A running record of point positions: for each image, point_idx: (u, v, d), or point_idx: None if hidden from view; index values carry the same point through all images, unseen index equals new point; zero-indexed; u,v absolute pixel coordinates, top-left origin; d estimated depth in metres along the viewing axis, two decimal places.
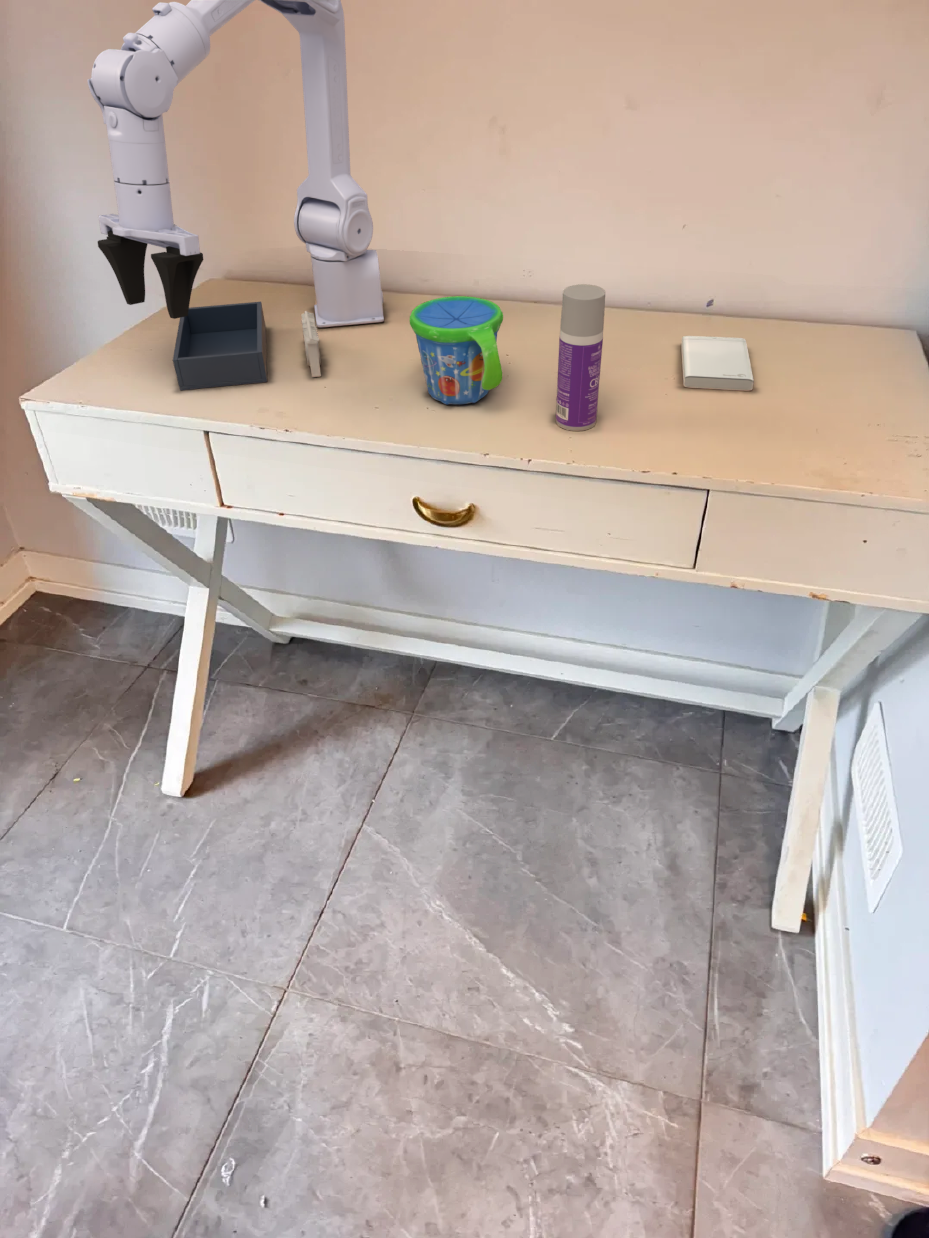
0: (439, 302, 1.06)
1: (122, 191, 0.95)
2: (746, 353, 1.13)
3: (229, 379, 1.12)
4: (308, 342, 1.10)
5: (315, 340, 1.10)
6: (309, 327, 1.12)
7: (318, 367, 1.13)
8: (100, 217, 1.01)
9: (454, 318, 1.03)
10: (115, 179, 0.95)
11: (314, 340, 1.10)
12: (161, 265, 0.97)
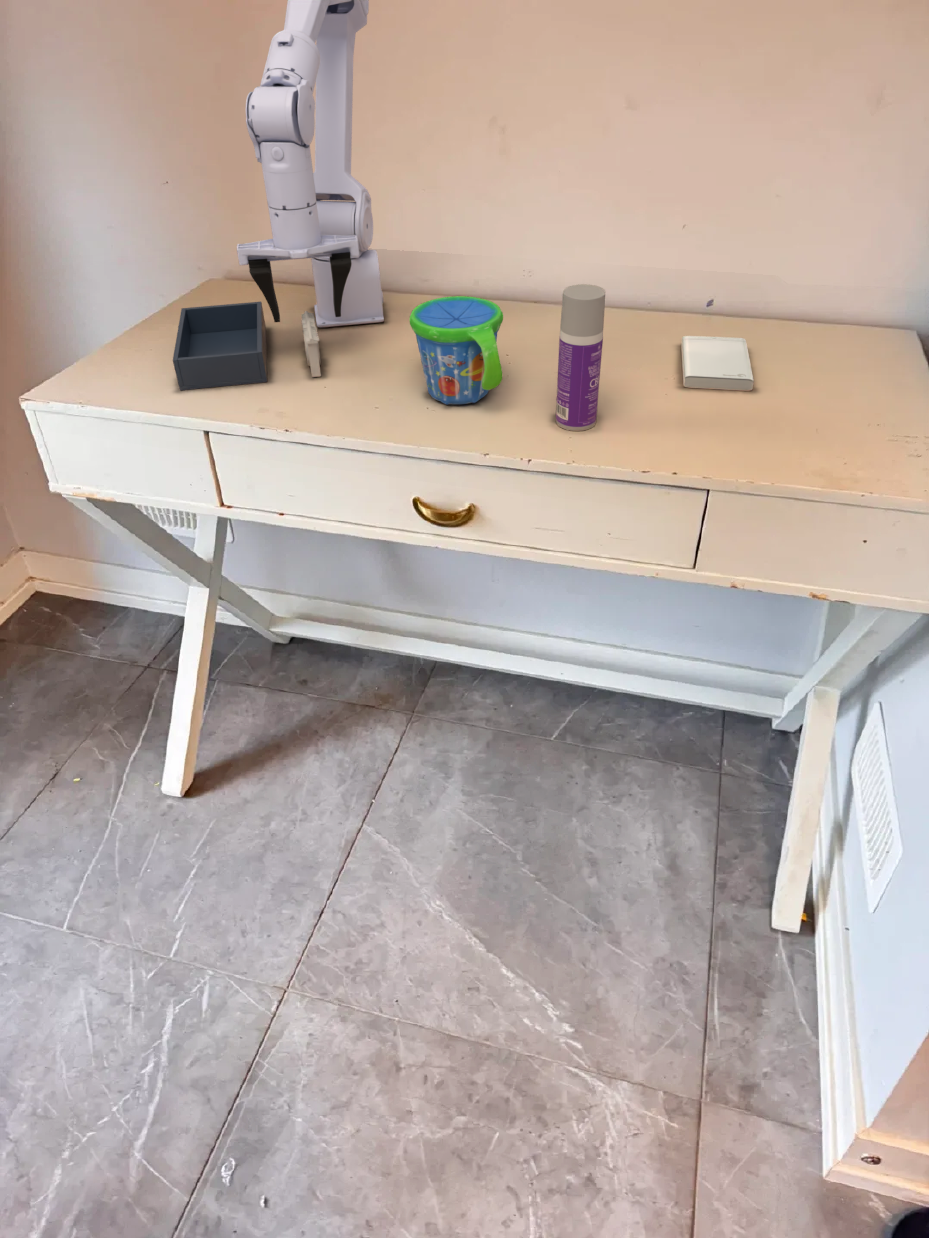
0: (439, 302, 1.06)
1: (295, 217, 1.04)
2: (746, 353, 1.13)
3: (229, 379, 1.12)
4: (308, 342, 1.10)
5: (315, 340, 1.10)
6: (309, 327, 1.12)
7: (318, 367, 1.13)
8: (240, 250, 1.07)
9: (454, 318, 1.03)
10: (278, 207, 1.03)
11: (314, 340, 1.10)
12: (342, 271, 1.09)
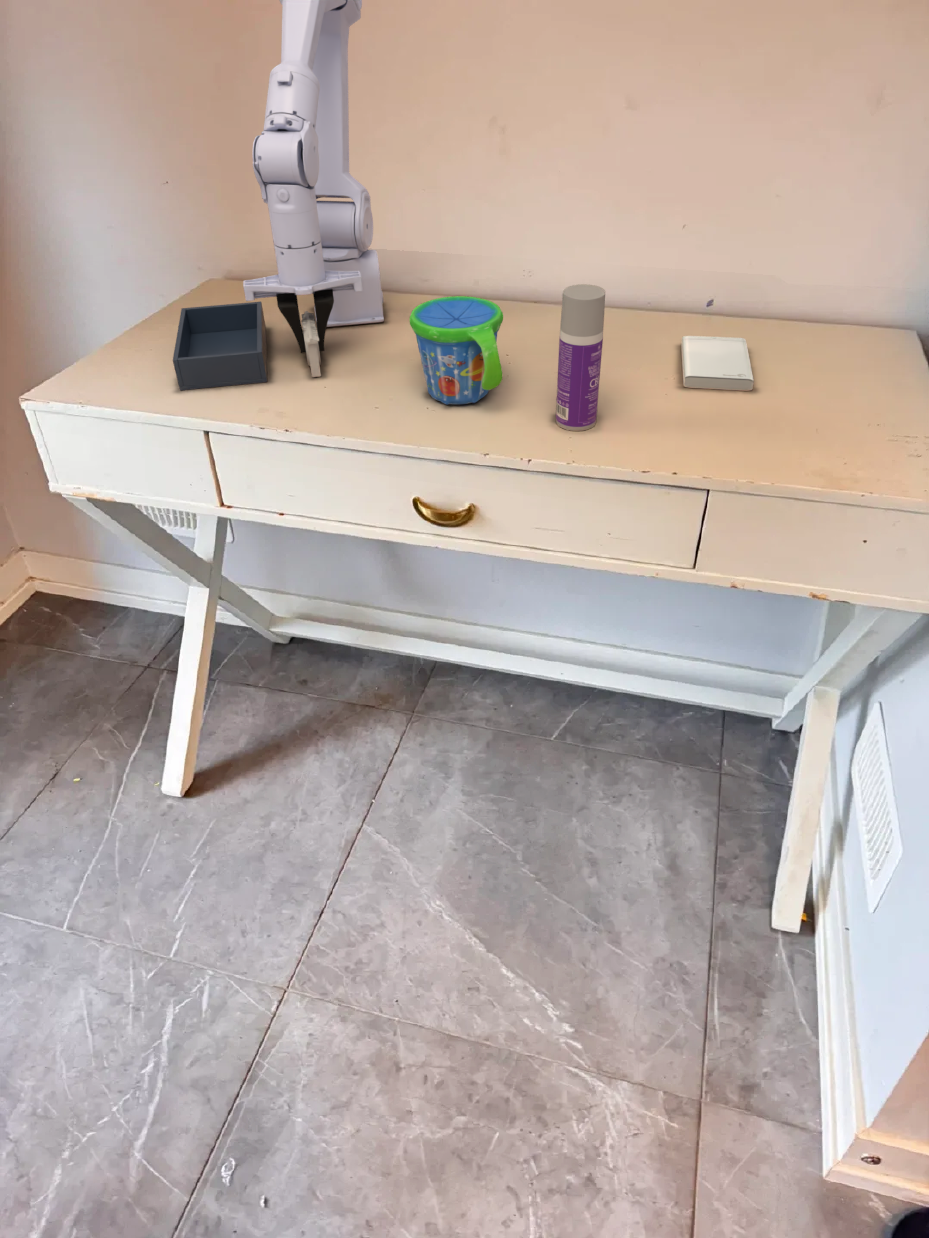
0: (439, 302, 1.06)
1: (301, 255, 1.06)
2: (746, 353, 1.13)
3: (229, 379, 1.12)
4: (308, 342, 1.10)
5: (315, 340, 1.10)
6: (309, 327, 1.12)
7: (318, 367, 1.13)
8: (246, 286, 1.09)
9: (454, 318, 1.03)
10: (284, 246, 1.06)
11: (314, 340, 1.10)
12: (324, 308, 1.11)
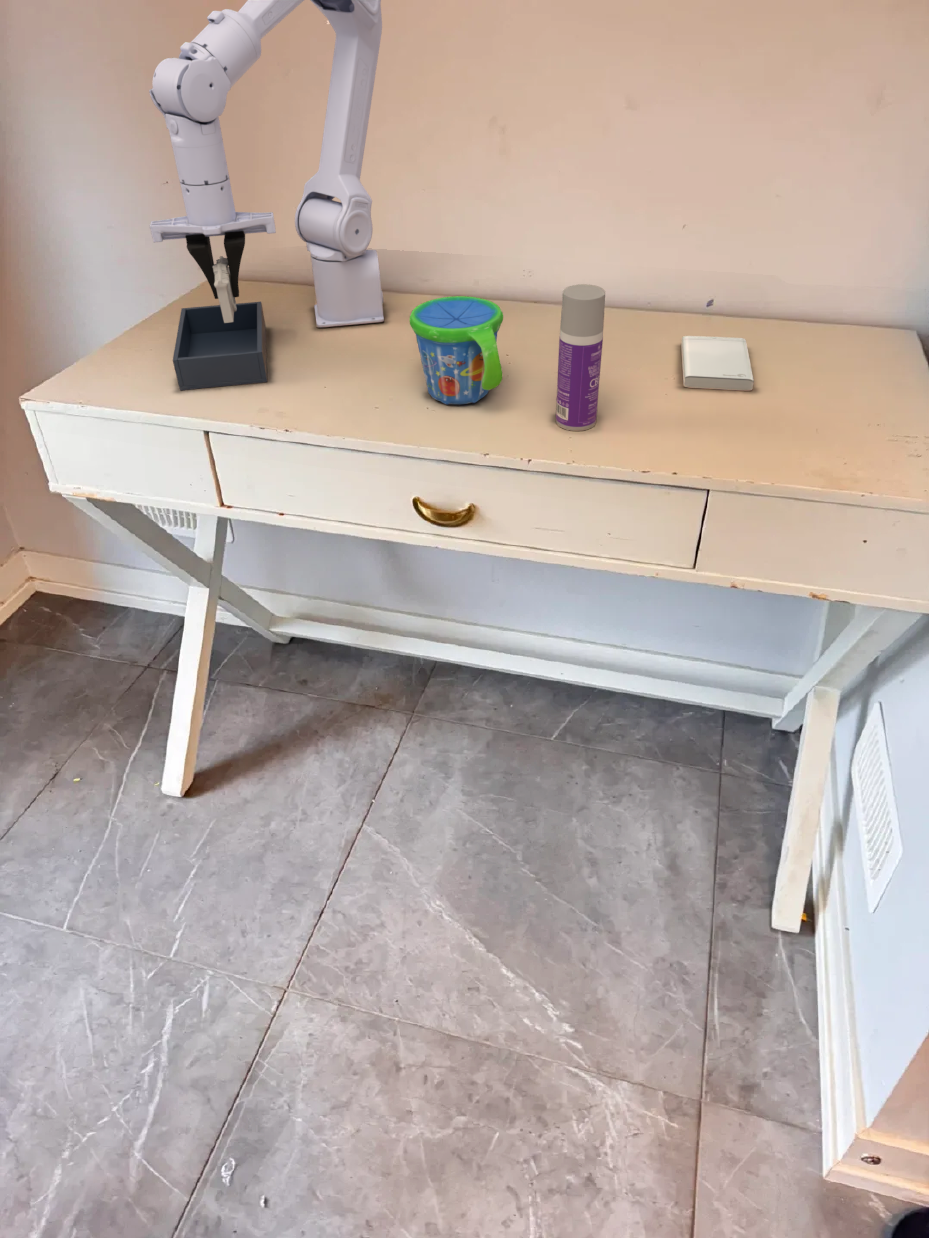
0: (439, 302, 1.06)
1: (206, 192, 1.03)
2: (746, 353, 1.13)
3: (229, 379, 1.12)
4: (216, 285, 1.06)
5: (223, 283, 1.06)
6: (219, 271, 1.08)
7: (230, 312, 1.09)
8: (153, 227, 1.06)
9: (454, 318, 1.03)
10: (180, 181, 1.03)
11: (222, 283, 1.06)
12: (235, 250, 1.07)
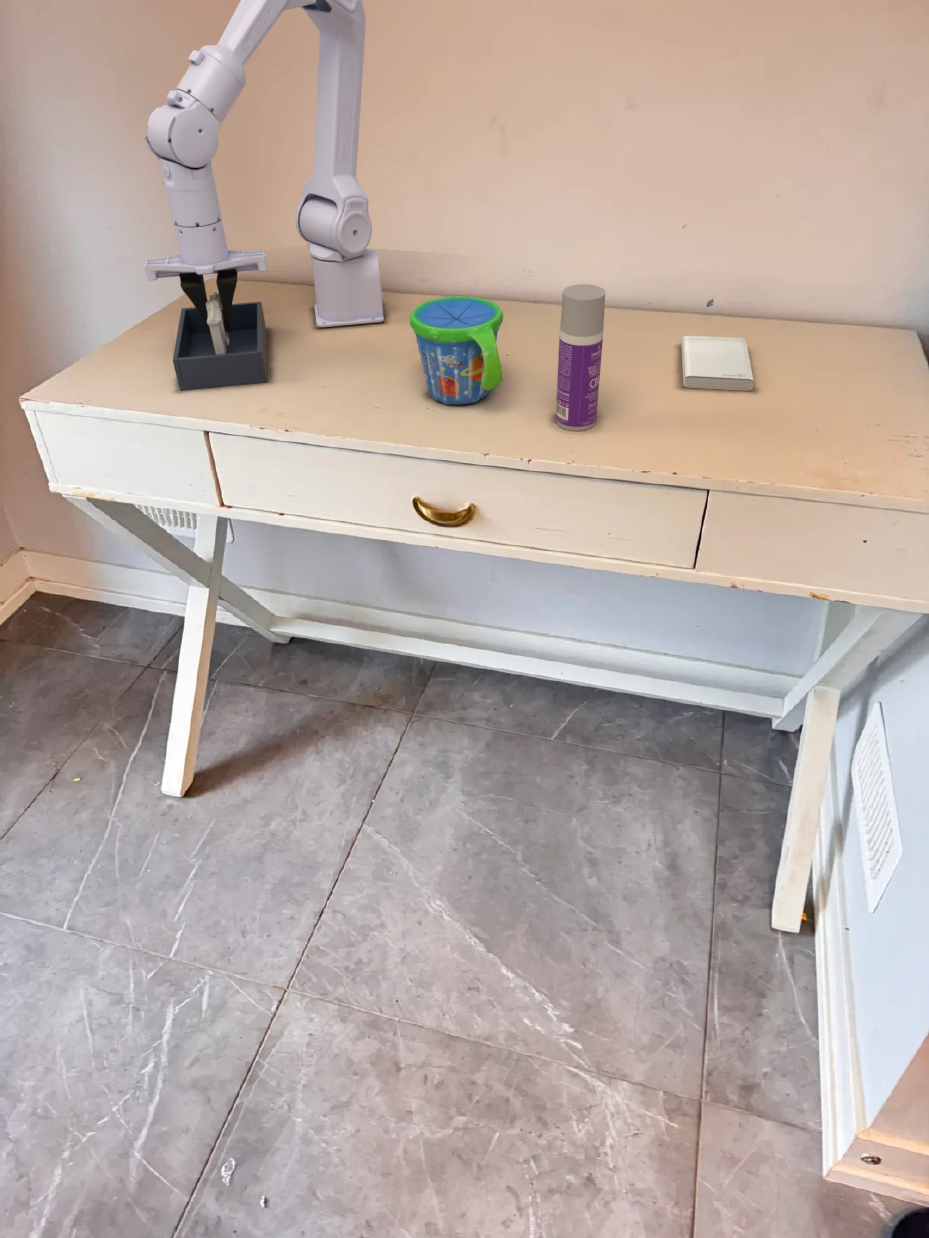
0: (439, 302, 1.06)
1: (199, 233, 1.06)
2: (746, 353, 1.13)
3: (229, 379, 1.12)
4: (209, 322, 1.09)
5: (216, 320, 1.09)
6: (212, 308, 1.11)
7: (222, 348, 1.12)
8: (148, 266, 1.09)
9: (454, 318, 1.03)
10: (173, 222, 1.06)
11: (215, 320, 1.09)
12: (227, 288, 1.11)
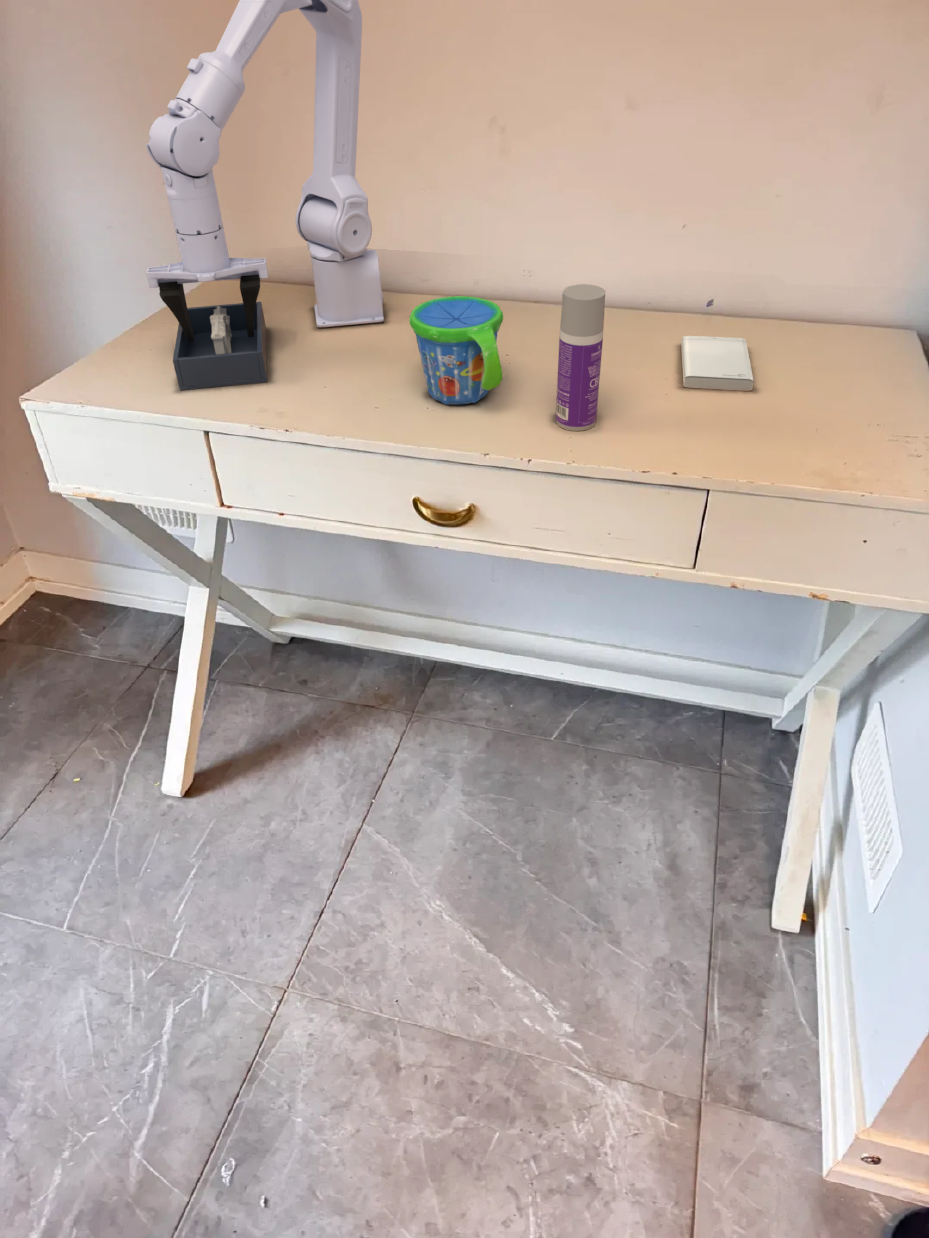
0: (439, 302, 1.06)
1: (201, 241, 1.06)
2: (746, 353, 1.13)
3: (229, 379, 1.12)
4: (213, 337, 1.11)
5: (220, 335, 1.11)
6: (216, 322, 1.13)
7: None
8: (149, 273, 1.09)
9: (454, 318, 1.03)
10: (175, 230, 1.07)
11: (219, 335, 1.11)
12: (250, 293, 1.11)
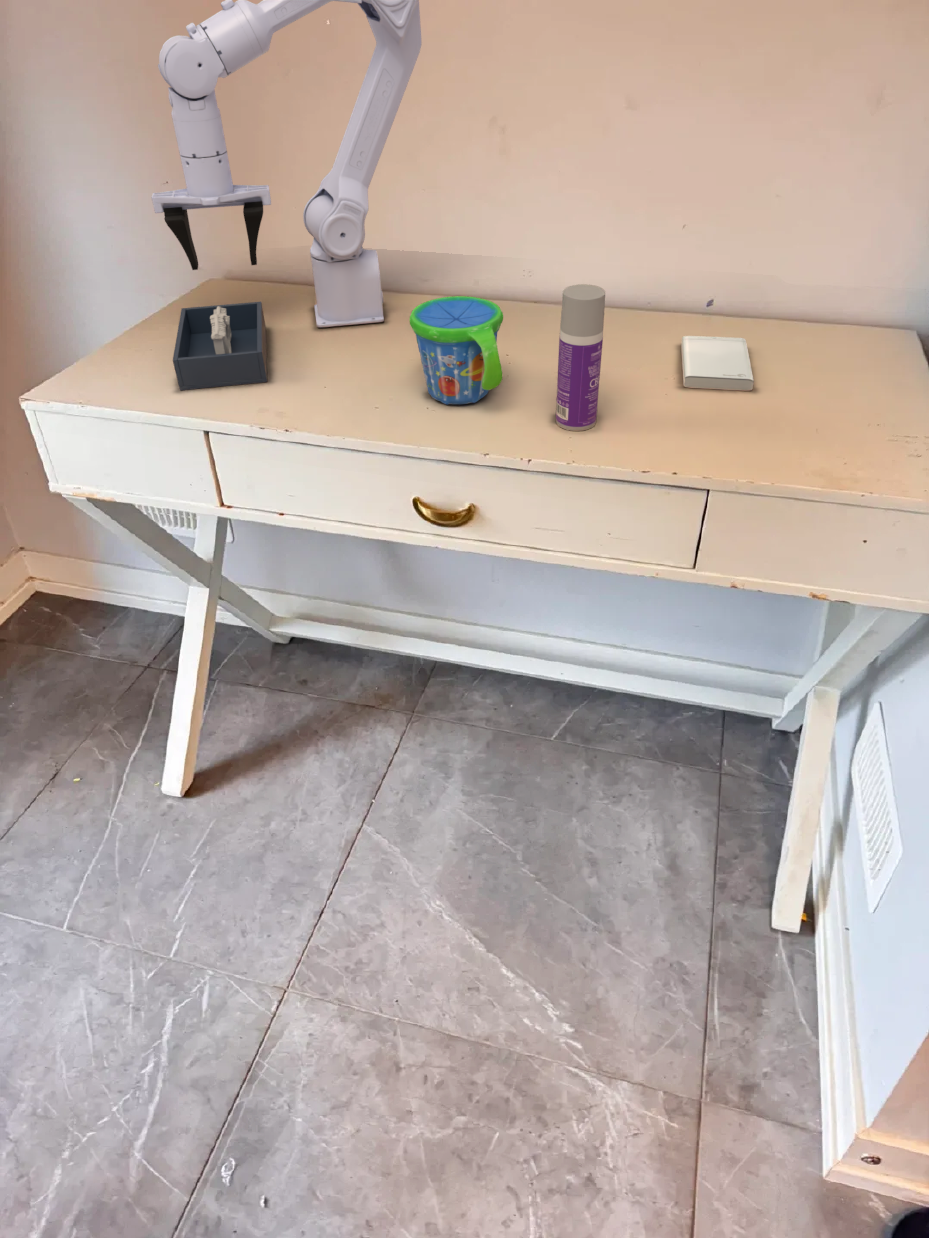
0: (439, 302, 1.06)
1: (205, 165, 1.08)
2: (746, 353, 1.13)
3: (229, 379, 1.12)
4: (213, 337, 1.11)
5: (220, 335, 1.11)
6: (216, 322, 1.13)
7: None
8: (155, 198, 1.11)
9: (454, 318, 1.03)
10: (179, 151, 1.10)
11: (219, 335, 1.11)
12: (254, 219, 1.13)
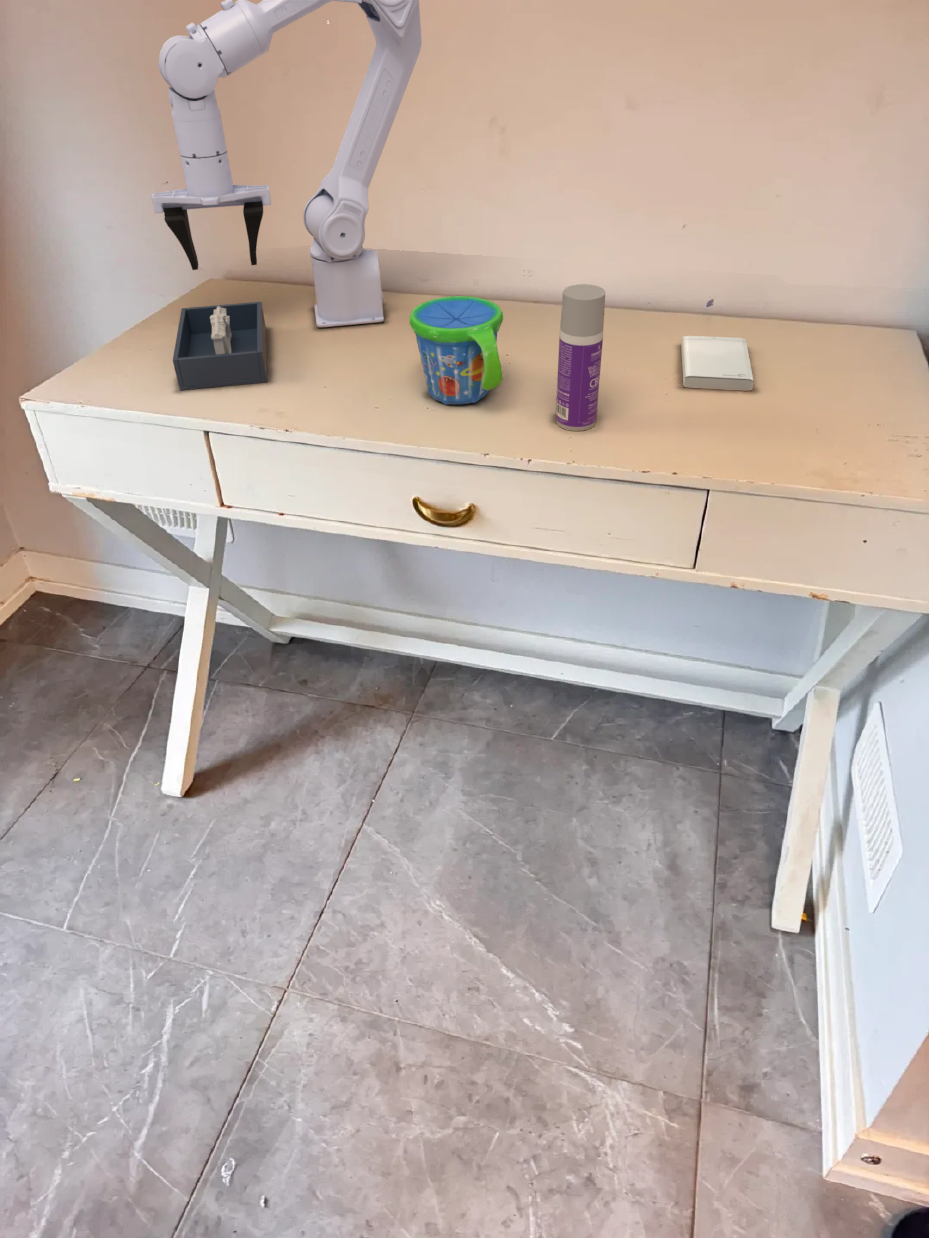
0: (439, 302, 1.06)
1: (205, 165, 1.08)
2: (746, 353, 1.13)
3: (229, 379, 1.12)
4: (213, 337, 1.11)
5: (220, 335, 1.11)
6: (216, 322, 1.13)
7: None
8: (155, 198, 1.11)
9: (454, 318, 1.03)
10: (179, 151, 1.10)
11: (219, 335, 1.11)
12: (254, 219, 1.13)
